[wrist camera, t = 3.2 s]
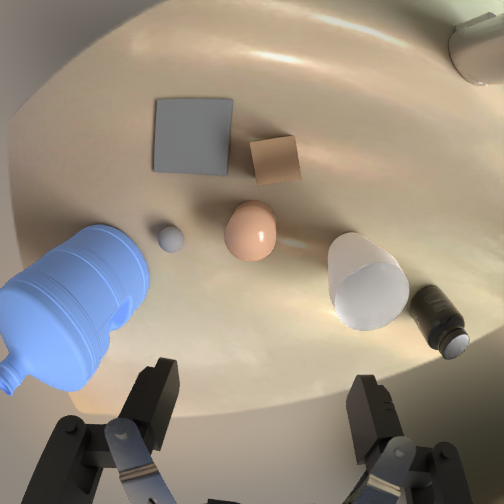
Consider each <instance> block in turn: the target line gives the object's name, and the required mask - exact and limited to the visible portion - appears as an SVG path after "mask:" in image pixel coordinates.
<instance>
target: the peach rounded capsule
mask: <svg viewBox="0 0 504 504" xmlns="http://www.w3.org/2000/svg"><path fill="white" fill-rule="evenodd" d="M224 239H225V244H226V246H227V248H228V250H229V251H230V252H231V253H232V254H233V255H234V256H235V257H237V258H239V259H241V260H244V261H258V260H261V259H263V258H265V257H266V256H268V255H269V254H270V253H271V251H272V250H273V248H274V246H275V243H276V217H275V214H274V212H273V211H272V209H271V208H270V207H269V206H268V205H266V204H265V203H263V202H260V201H247V202H244V203H242V204H241V205H239V206H238V207H237V208H236V209H235V211H234V213H233V215H232V217H231V219H230V221H229V223H228V224H227V227H226V229H225V234H224Z"/></svg>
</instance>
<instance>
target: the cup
mask: <svg viewBox="0 0 504 504" xmlns="http://www.w3.org/2000/svg"><path fill="white" fill-rule="evenodd" d="M328 278H329V294H330V299H331V301H332V304H333V306H334V308H335V311H336V313H337V316H338V318H339V319H340V320H341V322H342V323H343V324H345V325H346V326H348V327H349V328H352V329H355V330H359V331H370V330H375V329H378V328H381V327H383V326H385V325H387V324H389V323H390V322H392V321H393V320H394V319H395V318H396V317H397V316H398V315H399V314H400V313H401V312H402V310H403V309H404V307H405V305H406V303H407V300H408V297H409V282H408V279H407V277H406V275H405V274H404V272H403V271H402V269H401V267H400V266H399V264H398V262H397V261H396V260H395V259H394V258H393V257H392V256H391V255H390V254H389V253H387V252H386V251H385V250H383V249H382V248H380V247H379V246H378V245H376V244H375V243H373V242H372V241H370V240H369V239H368V238H366V237H365V236H363V235H361V234H359V233H353V232H351V233H345V234H343V235H341V236H339V237H337V238H336V239H335V240H334V241H333V242H332V244H331V245H330V247H329V250H328Z"/></svg>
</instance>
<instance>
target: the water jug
mask: <svg viewBox="0 0 504 504" xmlns="http://www.w3.org/2000/svg"><path fill="white" fill-rule="evenodd" d="M148 287H149V272H148V267H147V264H146V261H145V259H144V257H143V255H142V253H141V251H140V250H139V248H138V247H137V245H136V244H135V243H134V242H133V241H132V240H131V239H130V238H129V237H128V236H127V235H125V234H124V233H123V232H121V231H119V230H118V229H116V228H113V227H110V226H107V225H92V226H88V227H86V228H84V229H82V230H81V231H79V232H78V233H76V234H75V235H74V236H73V237H72V238H70V239H69V240H67V241H65V242H64V243H62V244H61V245H59V246H57V247H55V248H53V249H52V250H50V251H49V252H47V253H46V254H45V255H44V256H43V257H42V258H40V259H39V260H38V261H36V262H35V263H33V264H32V265H31V266H29V267H28V268H27V269H25V270H24V271H22V272H20V273H18V274H17V275H15V276H14V277H13V278H11V279H10V280H9V281H8V282H7V283H6V284H5V285H4V286H3V287H2V288H0V334H1V336H2V338H3V340H4V343H5V345H6V347H7V349H8V351H9V354H8V356H7V357H6V358H5V359H4V361H2V362H1V363H0V389H1V390H3V391H4V392H5V393H6V394H8V395H9V396H12V395H13V393H14V390H15V388H16V387H18V386H20V384H21V383H22V380H23V379H24V378H25V377H26V376H27V375H28V374H30V375H31V376H33V377H35V378H36V379H38V380H40V381H42V382H43V383H45V384H47V385H49V386H51V387H53V388H56V389H58V390H62V391H68V392H73V391H77V390H80V389H82V388H83V387H84V386H85V385H86V383H87V382H88V380H89V379H90V378H91V377H92V376H93V374H94V373H95V371H96V370H97V368H98V366H99V364H100V362H101V360H102V358H103V357H104V355H105V354H106V352H107V350H108V348H109V343H110V335H109V332H110V331H113V330H116V329H118V328H120V327H122V326H123V325H124V324H125V323H126V322H127V321H128V320H129V318H130V317H131V315H132V314H133V312H134V311H135V310H136V309H137V308H138V307H139V306H140V304H141V303H142V301H143V300H144V298H145V296H146V294H147V291H148Z"/></svg>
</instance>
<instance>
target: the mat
mask: <svg viewBox="0 0 504 504" xmlns="http://www.w3.org/2000/svg"><path fill="white" fill-rule="evenodd" d="M232 108H233V100H229V99H158V100H157V111H156V127H155V149H154V172H165V173H186V174H202V175H216V176H227V170H228V156H229V143H230V131H231V119H232Z"/></svg>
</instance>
